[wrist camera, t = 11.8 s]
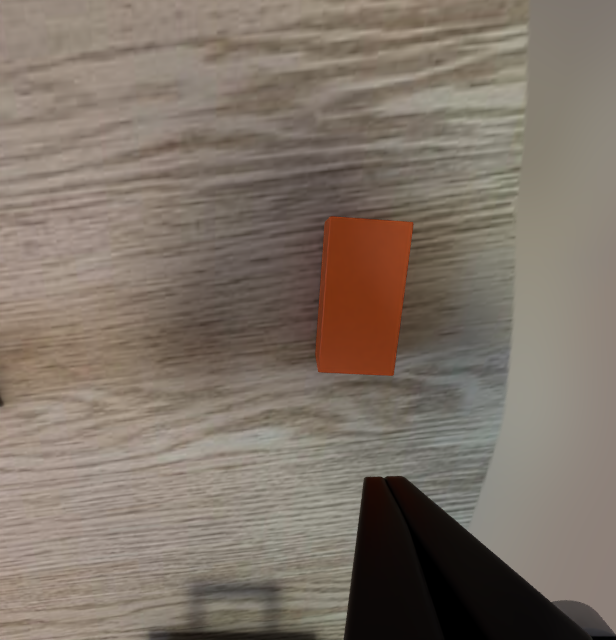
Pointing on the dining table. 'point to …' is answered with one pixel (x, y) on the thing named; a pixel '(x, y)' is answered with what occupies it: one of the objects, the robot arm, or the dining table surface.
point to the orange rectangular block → (361, 294)
